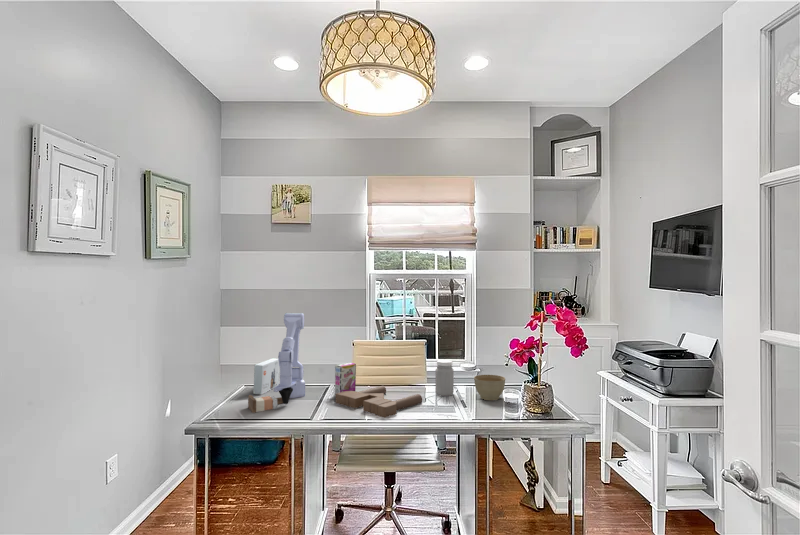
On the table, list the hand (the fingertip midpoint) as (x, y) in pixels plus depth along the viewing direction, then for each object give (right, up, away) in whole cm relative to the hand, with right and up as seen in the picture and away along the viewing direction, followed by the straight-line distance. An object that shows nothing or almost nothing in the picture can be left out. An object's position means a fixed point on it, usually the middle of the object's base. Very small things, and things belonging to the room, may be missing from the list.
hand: (285, 403), depth 226 cm
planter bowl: (+102, -3, +18) cm, 104 cm away
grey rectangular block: (-5, -1, -3) cm, 6 cm away
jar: (+79, -3, +26) cm, 83 cm away
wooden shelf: (-7, -2, -3) cm, 8 cm away
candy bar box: (+26, -3, +24) cm, 36 cm away
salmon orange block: (-8, -1, -4) cm, 9 cm away
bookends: (+46, -3, +8) cm, 46 cm away
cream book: (-11, -1, -6) cm, 13 cm away
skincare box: (-19, -3, +34) cm, 39 cm away
